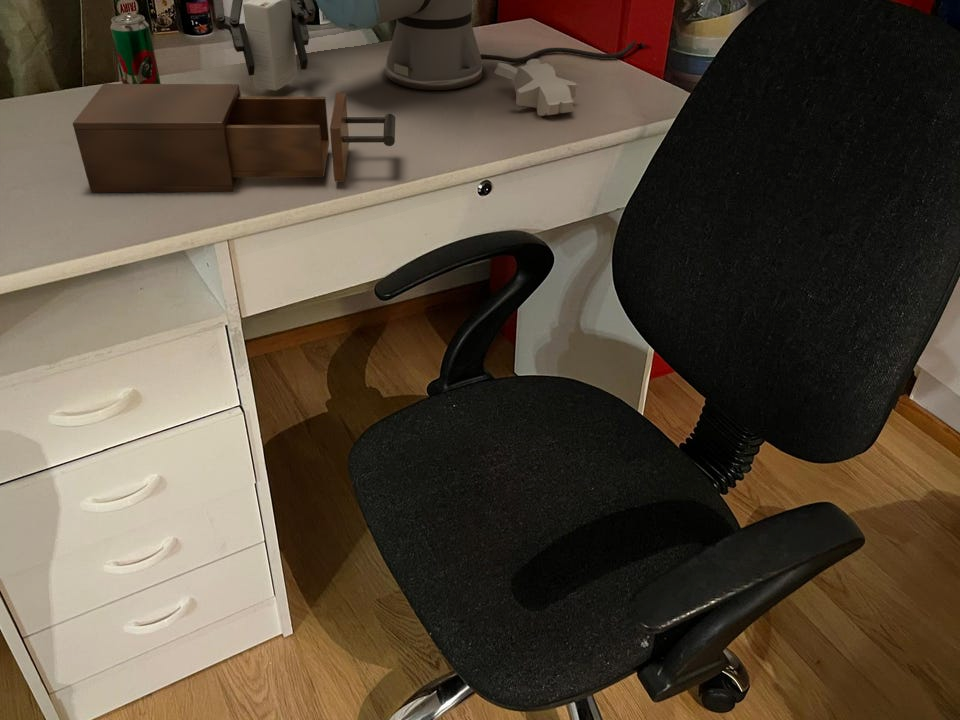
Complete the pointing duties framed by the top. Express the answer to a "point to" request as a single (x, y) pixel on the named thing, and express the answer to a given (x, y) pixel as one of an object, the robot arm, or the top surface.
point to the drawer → (293, 136)
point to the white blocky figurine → (540, 87)
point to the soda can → (134, 49)
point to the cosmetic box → (271, 42)
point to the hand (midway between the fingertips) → (278, 67)
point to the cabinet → (157, 138)
